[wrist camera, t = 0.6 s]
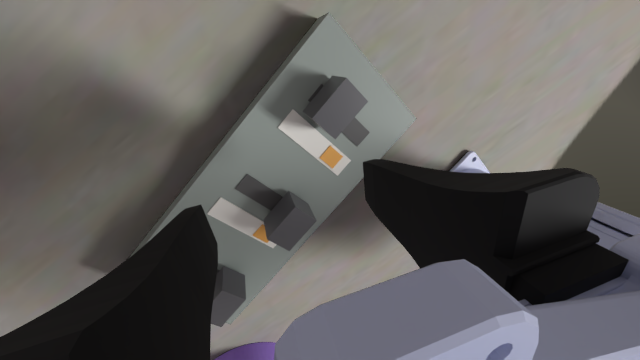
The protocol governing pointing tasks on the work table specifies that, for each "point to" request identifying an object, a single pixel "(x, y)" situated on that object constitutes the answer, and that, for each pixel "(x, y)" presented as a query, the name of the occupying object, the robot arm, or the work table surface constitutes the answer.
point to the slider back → (227, 295)
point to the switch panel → (289, 154)
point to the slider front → (335, 105)
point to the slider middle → (288, 221)
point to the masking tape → (250, 352)
